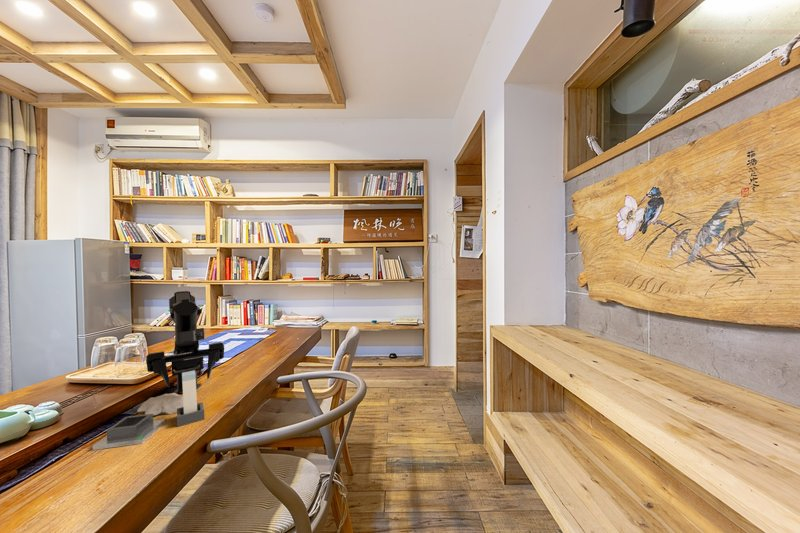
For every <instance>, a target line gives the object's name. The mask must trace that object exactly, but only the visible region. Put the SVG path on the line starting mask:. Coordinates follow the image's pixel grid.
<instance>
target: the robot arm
mask: <svg viewBox="0 0 800 533" xmlns="http://www.w3.org/2000/svg"><path fill="white" fill-rule="evenodd" d="M196 303H197V302H196V297H195V296H193V295H192V294H191V291H189V290H184V291H183V290H182V291H176V292H174V295H173V296H171V297H170V298H169V300H168V305H169V308H168V310H169V314H170V315H169V316H170V321H171V320H173V323H174V348H173V354H168V355H165V351H157V352H149V353H148V354H147V355H146V357H145V365H146V368H147V372H148V373H153V374H158V375H159V376H160V377H161V378H162V379H163V382H164V383H165V385H166V386H167V388H170V377H169V372H168V367H167V363H171V364H170V365H171V377H175V376H176V383H177V386H176V387H177V389H175V390H174V391H173V392H172V393H176V394H178V395H179V394H183V385H182V373H183V372H189V371H194V370H195V374H196V391H197V390H198V389H199V388H200V387H201V386H202V383H198V372H201V371H202V370H204V357H207V366H206V367H207V370H206V377H207V379H210V377H211V373H212V370H213V369H214V366H215V364H216V363H218V362H220V360H222V359H224V358H225V356H224V355H225V344H224V342H222V341H220V342H214V343H209V344H208V348H207V349H200V350H199V348H200V342H199V341H203V340H205V327H201V328H198V326H197V322H198V317H200V315H201V314H202V309H201V308H200V307H199V305H197V304H196ZM207 379H206V380H207Z"/></svg>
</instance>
